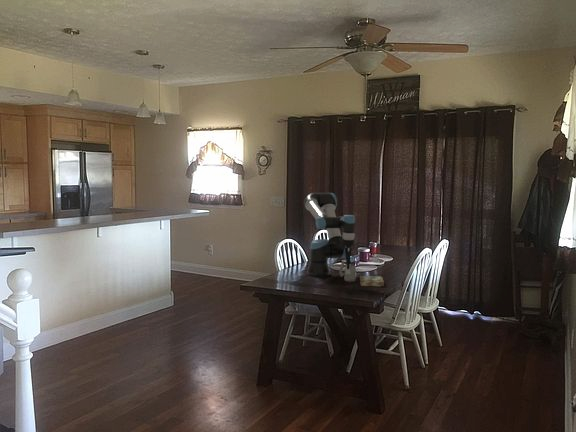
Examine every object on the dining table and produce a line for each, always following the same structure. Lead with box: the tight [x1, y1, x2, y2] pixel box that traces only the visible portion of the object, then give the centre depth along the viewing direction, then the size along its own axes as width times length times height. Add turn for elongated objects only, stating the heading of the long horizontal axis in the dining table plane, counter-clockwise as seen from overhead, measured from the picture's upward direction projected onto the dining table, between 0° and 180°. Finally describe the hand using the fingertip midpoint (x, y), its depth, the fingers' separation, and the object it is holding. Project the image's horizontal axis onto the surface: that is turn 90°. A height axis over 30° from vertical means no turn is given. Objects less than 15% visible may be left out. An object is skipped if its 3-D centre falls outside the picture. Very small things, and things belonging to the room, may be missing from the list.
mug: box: [338, 260, 357, 282], centre depth 309 cm, size 8×12×12 cm, turn 53°
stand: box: [359, 275, 385, 288], centre depth 301 cm, size 14×14×3 cm
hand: (347, 271), depth 309 cm, fingers open, 13 cm apart
